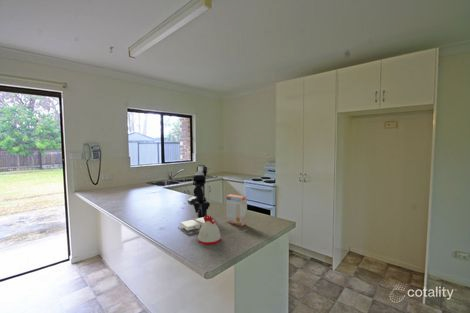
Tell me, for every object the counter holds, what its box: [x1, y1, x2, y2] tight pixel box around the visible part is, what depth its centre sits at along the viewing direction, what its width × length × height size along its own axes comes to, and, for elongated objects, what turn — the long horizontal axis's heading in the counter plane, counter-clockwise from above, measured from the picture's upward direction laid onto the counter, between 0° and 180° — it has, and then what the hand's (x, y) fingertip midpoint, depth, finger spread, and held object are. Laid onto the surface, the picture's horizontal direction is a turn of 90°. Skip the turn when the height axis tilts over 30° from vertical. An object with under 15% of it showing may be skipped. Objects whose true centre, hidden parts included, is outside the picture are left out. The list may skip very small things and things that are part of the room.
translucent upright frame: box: [225, 193, 247, 227], centre depth 160 cm, size 14×6×21 cm, turn 52°
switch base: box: [177, 225, 201, 236], centre depth 151 cm, size 22×16×1 cm
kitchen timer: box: [197, 215, 222, 246], centre depth 133 cm, size 14×14×15 cm
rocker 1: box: [180, 219, 200, 230], centre depth 148 cm, size 9×12×2 cm
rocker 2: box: [194, 217, 215, 226], centre depth 155 cm, size 9×12×2 cm
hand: (199, 214), depth 152 cm, fingers open, 9 cm apart
